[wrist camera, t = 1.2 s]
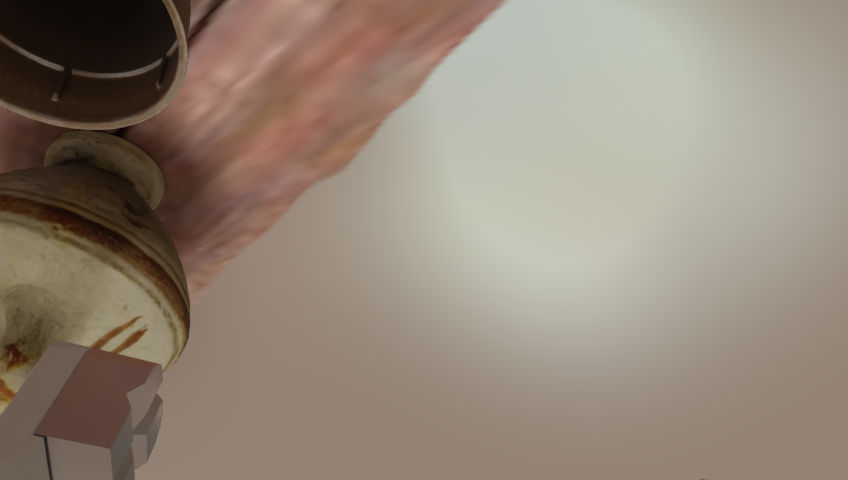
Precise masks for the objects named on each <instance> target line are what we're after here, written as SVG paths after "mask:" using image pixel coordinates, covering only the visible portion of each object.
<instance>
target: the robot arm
mask: <svg viewBox="0 0 848 480" xmlns="http://www.w3.org/2000/svg"><path fill="white" fill-rule="evenodd" d="M162 381H163V376H162V365H161V364H158V363H154V362H150V361H146V360H142V359H137V358H133V357H129V356H125V355H121V354H117V353H112V352H108V351H104V350H100V349H96V348H91V347H86V346H82V345H78V344H73V343H69V342H65V341H60V340H57V341H56V342H55V343H54V344H52V345H51V346H50V347H48V348H47V350H46V351H45V353H44V354H43V355H42V357H41V358H40V360H39V361H38V363H37V364H36V366H35V367H34V368H33V370H32V371H31V373H30V374H29V376H28V377H27V379H26V380H25V381H24V383H23V384H22V386H21V387H20V389H19V390H18V392H17V393H16V394H15V396H14V397H13V399H12V400H11V402H10V403H9V404H8V406H7V407H6V409H5V410H4V412H3V413H2V415H1V416H0V480H135V478H134V477H135V476H134V470H135V469H137V468H139V467H140V466H142V465H143V464H145V463H146V462H147V461H148V459H149V456H150V454H151V452H152V450H153V447H154V445H155V442H156V439H157V436H158V432H159V429H160V426H161V419H162V413H163V400H162V399H161V398H160V397H159V395H158V394H157V391H158V389H159V387H160V385H161V382H162ZM701 480H706V479H701Z"/></svg>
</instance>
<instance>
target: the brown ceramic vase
mask: <svg viewBox="0 0 848 480" xmlns="http://www.w3.org/2000/svg"><path fill="white" fill-rule="evenodd" d="M164 192H165V183H164V176H163V173H162V172H161V170H160V169H159V167H158V166H157V164H156V162H155V161H154V160H153V159H152V158H151V157H150V156H149V155H148V154H147V153H145V152H144V151H143V150H141V149H140V148H139V147H137V146H136V145H134V144H132V143H130V142H128V141H126V140H124V139H122V138H121V137H118V136H114V135H111V134H107V133H103V132H96V131H90V130H76V131H70V132H66V133H64V134H63V135H61V136H59V137H58V138H56V139H55V140H54V141H53V142H52V143H51V145H50V146H49V148H48V150H47V151H46V153H45V156H44V167H37V168H29V169H23V170H16V171H12V172H8V173H3V174H0V416H1V415H2V413H3V412H4V410H5V409H6V407H7V406H8V404H9V403H10V402H11V400H12V399H13V397H14V396H15V394H16V393H17V392H18V390H19V389H20V387H21V386H22V384H23V383H24V381H25V380H26V379H27V377H28V376H29V374H30V373H31V371H32V370H33V368H34V367H35V366H36V364H37V363H38V361H39V360H40V358H41V357H42V355H43V354H44V353H45V351H46V350H47V348H48V347H50V346H51V345H52V344H54V343H55V342H56V341H57V340H60V341H65V342H69V343H73V344H78V345H82V346H86V347H91V348H96V349H100V350H104V351H108V352H112V353H117V354H121V355H125V356H129V357H133V358H137V359H142V360H146V361H150V362H154V363H158V364H161V365H162V373H164V372H165V371H166V370H167V369H168V368H170V367H171V366H172V365H173V364H174V363H175V362H176V361H177V359H178V358H179V357H180V355H181V353H182V352H183V350H184V348H185V345H186V343H187V341H188V337H189V328H190V300H189V294H188V288H187V282H186V279H185V275H184V271H183V267H182V263H181V261H180V258H179V255H178V253H177V250H176V248H175V245H174V243H173V241H172V239H171V237H170V235H169V233H168V231H167V229H166V228H165V226H164V224H163V223H162V221H161V220H160V218H159V217H158V216H157V214H156V213H155V212H154V211H153V210H154V209H155V208H156V207H157V206H158V205H159V203H160V201H161V199H162V197H163V194H164Z"/></svg>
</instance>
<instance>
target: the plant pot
mask: <svg viewBox="0 0 848 480" xmlns="http://www.w3.org/2000/svg"><path fill="white" fill-rule="evenodd" d="M190 1H191V0H0V106H2V107H4V108H6V109H8V110H10V111H13V112H15V113H18V114H20V115H23V116H25V117H28V118H31V119H34V120H37V121H41V122H44V123H48V124H52V125H56V126H61V127H67V128H75V129H86V130H105V129H116V128H122V127H127V126H131V125H134V124H137V123H140V122H143V121H145V120H147V119H149V118H151V117H152V116H154V115H156V114H157V113H159V112H160V111H162V110H163V109H164V108H165V107H166V106H167V105H168V104H169V103H170V102H171V101H172V100H173V99H174V98H175V96H176V95H177V93H178V92H179V90H180V88H181V86H182V83H183V80H184V77H185V73H186V69H187V63H188V40H187V34H188V30H189V25H190V15H191V10H190Z"/></svg>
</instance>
